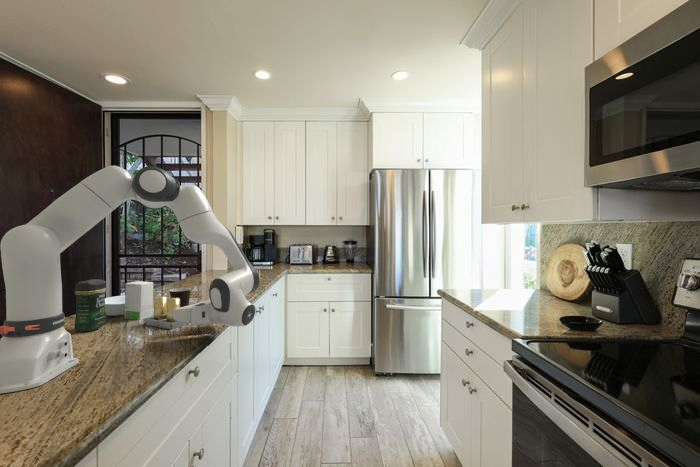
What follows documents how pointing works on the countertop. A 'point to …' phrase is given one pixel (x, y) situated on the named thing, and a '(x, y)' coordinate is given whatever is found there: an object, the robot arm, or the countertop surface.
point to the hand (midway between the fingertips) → (187, 306)
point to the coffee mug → (181, 295)
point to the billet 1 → (160, 307)
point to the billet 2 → (172, 308)
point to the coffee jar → (90, 305)
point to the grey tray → (164, 323)
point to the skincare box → (138, 300)
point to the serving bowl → (115, 305)
